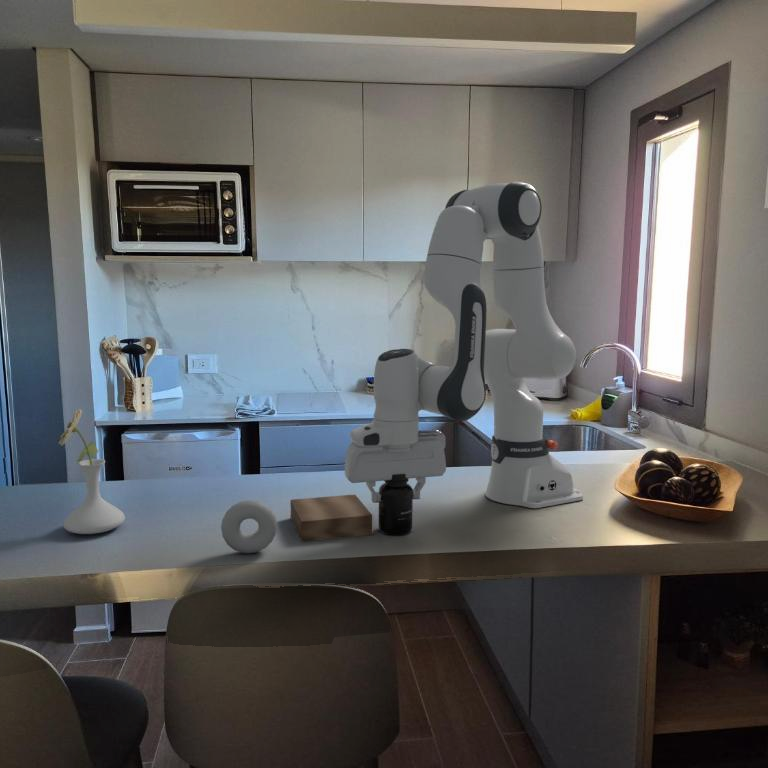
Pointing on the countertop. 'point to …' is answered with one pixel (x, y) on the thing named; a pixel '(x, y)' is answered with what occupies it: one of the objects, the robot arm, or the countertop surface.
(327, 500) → the walnut base
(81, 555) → the countertop surface
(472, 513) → the countertop surface
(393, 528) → the supplement bottle
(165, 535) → the countertop surface
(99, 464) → the flower in vase
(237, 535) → the donut
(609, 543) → the countertop surface
